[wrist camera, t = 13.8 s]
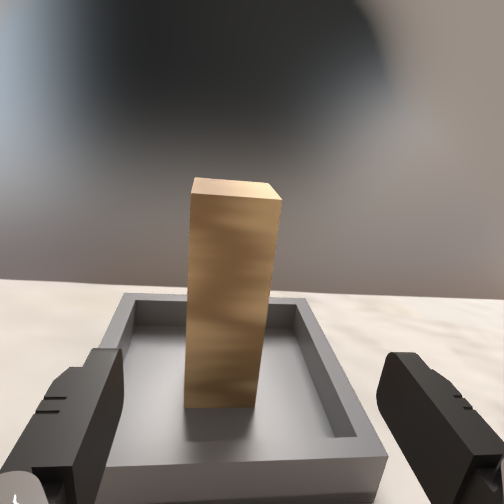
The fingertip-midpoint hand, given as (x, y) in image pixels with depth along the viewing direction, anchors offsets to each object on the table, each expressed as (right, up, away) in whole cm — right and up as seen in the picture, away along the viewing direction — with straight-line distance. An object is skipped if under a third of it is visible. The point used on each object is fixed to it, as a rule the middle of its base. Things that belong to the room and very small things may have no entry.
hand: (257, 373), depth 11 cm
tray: (-2, -5, +11) cm, 12 cm away
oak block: (-2, -4, +11) cm, 12 cm away
